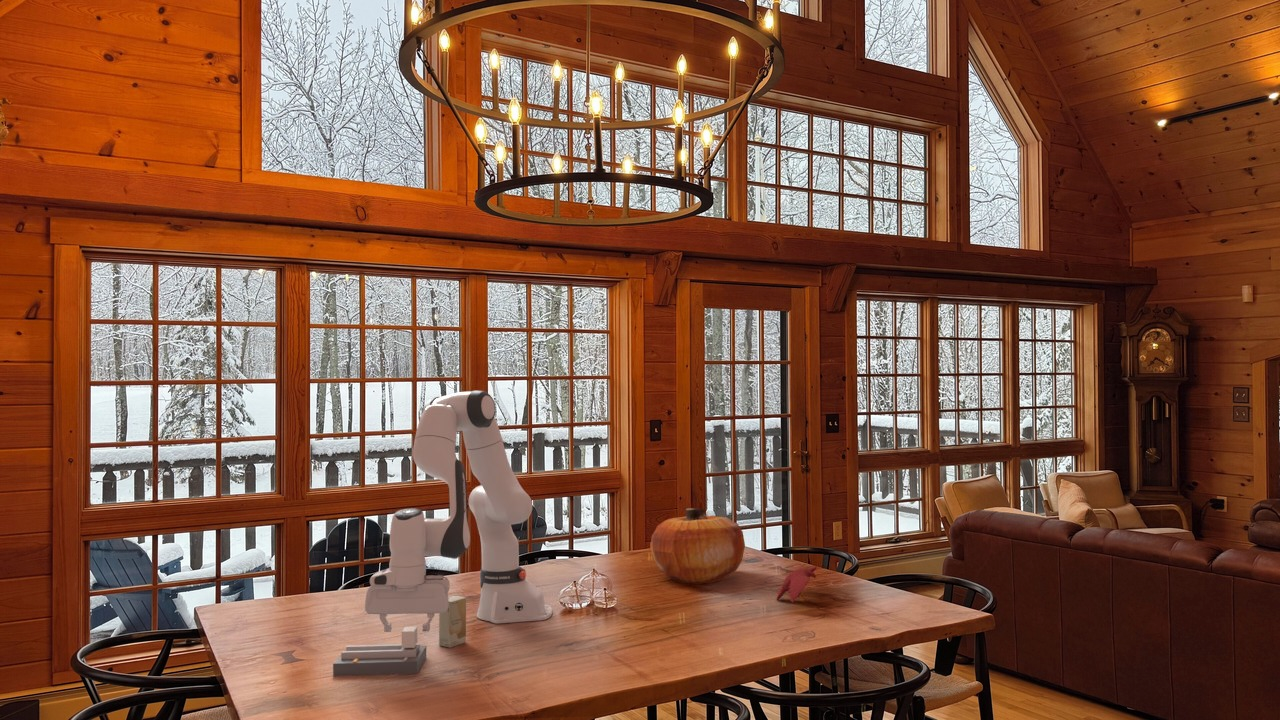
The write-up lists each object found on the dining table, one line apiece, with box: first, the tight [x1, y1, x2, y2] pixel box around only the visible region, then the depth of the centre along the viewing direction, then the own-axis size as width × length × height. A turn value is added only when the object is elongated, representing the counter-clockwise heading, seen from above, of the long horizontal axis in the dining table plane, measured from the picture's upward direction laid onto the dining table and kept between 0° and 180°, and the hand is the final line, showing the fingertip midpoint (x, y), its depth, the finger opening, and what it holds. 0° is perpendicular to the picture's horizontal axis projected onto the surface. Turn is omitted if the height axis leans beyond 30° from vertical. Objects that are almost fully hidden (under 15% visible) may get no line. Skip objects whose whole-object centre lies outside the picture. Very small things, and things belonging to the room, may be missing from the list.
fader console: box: [332, 643, 427, 677], centre depth 215 cm, size 20×12×5 cm, turn 93°
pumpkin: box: [650, 507, 746, 585], centre depth 305 cm, size 33×33×25 cm
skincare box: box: [438, 595, 467, 648], centre depth 233 cm, size 6×4×12 cm
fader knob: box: [400, 626, 419, 654], centre depth 216 cm, size 4×4×6 cm
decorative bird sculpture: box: [776, 566, 818, 603], centre depth 273 cm, size 28×9×15 cm
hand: (407, 631), depth 216 cm, fingers open, 8 cm apart
